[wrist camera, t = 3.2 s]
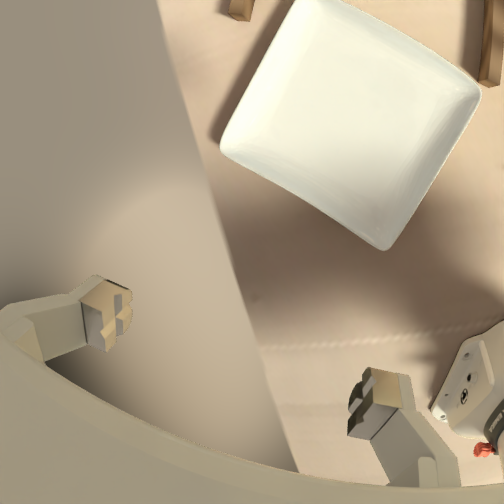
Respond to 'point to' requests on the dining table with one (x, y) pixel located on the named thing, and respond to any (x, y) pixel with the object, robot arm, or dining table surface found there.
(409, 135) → the salad plate
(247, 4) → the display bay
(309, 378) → the dining table surface
